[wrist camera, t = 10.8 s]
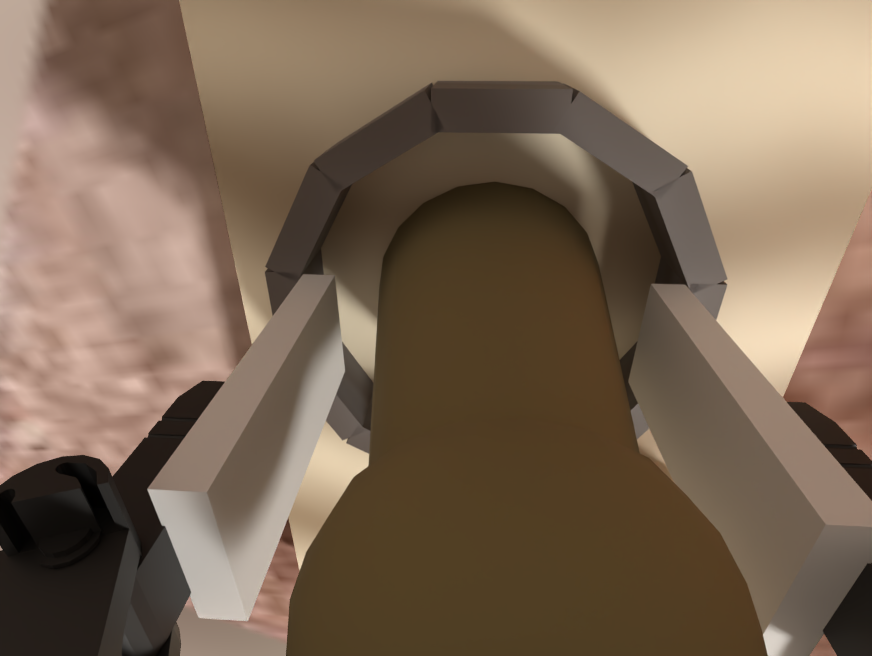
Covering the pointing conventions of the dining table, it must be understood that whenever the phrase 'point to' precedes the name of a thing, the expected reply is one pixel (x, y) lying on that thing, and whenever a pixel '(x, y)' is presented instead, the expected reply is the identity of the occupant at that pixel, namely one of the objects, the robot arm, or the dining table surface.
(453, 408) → the cork
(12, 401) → the dining table surface
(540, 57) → the gear board
